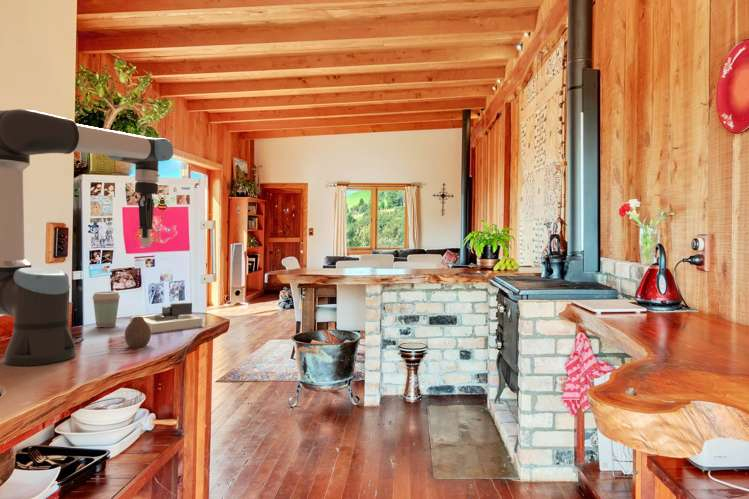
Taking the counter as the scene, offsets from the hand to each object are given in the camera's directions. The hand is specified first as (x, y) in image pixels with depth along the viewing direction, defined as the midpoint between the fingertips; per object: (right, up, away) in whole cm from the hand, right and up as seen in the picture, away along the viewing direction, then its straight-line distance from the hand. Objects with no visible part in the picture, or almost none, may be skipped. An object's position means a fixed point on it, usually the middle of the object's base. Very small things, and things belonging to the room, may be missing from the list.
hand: (145, 246), depth 170 cm
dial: (+10, -27, -1) cm, 29 cm away
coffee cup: (-11, -29, -6) cm, 31 cm away
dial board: (+9, -29, -2) cm, 30 cm away
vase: (+14, -30, -34) cm, 47 cm away
